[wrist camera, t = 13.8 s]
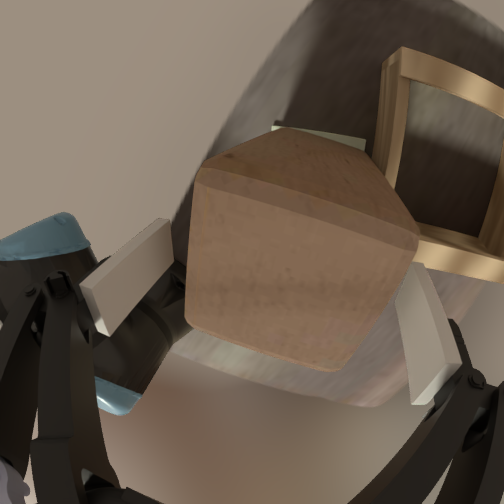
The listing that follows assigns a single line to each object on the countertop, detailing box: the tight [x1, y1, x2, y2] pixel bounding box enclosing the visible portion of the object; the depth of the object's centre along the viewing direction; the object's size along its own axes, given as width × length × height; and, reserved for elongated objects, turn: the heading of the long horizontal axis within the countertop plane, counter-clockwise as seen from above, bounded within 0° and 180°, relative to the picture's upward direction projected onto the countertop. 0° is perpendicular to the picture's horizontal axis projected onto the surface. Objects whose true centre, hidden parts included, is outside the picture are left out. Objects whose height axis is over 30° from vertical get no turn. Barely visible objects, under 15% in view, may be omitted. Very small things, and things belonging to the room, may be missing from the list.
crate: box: [372, 46, 504, 284], centre depth 20 cm, size 18×18×9 cm
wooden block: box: [184, 127, 420, 372], centre depth 20 cm, size 10×10×20 cm
